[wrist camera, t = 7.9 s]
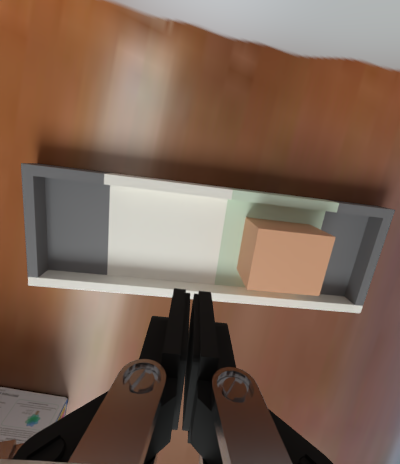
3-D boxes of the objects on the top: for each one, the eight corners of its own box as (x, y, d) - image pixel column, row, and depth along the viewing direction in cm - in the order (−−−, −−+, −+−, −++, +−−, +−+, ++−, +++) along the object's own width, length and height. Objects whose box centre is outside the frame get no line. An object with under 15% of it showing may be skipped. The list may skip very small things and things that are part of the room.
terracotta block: (309, 224, 22) (335, 237, 19) (297, 274, 24) (319, 296, 20) (245, 217, 22) (258, 228, 18) (236, 268, 23) (246, 289, 19)
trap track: (377, 206, 23) (395, 209, 21) (346, 301, 25) (360, 313, 23) (36, 163, 20) (21, 163, 18) (41, 275, 23) (28, 285, 21)
